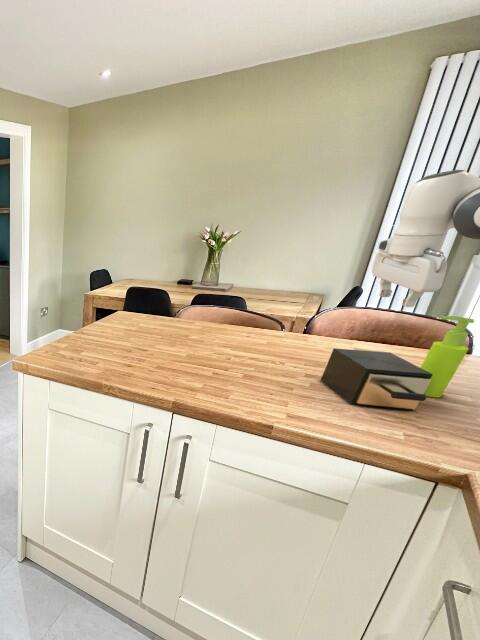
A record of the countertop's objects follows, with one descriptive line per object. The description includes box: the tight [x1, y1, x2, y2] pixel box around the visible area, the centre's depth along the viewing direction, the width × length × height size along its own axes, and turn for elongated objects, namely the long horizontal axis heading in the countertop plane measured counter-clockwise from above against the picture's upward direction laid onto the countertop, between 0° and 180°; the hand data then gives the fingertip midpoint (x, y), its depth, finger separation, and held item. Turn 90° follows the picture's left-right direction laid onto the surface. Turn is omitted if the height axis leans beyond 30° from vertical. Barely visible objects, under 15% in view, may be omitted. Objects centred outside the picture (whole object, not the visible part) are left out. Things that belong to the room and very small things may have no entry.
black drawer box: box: [320, 347, 433, 412], centre depth 101 cm, size 15×13×10 cm
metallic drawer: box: [355, 372, 431, 410], centre depth 97 cm, size 18×11×8 cm, turn 165°
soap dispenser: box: [419, 315, 475, 398], centre depth 100 cm, size 6×7×20 cm
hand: (395, 301), depth 103 cm, fingers open, 8 cm apart
